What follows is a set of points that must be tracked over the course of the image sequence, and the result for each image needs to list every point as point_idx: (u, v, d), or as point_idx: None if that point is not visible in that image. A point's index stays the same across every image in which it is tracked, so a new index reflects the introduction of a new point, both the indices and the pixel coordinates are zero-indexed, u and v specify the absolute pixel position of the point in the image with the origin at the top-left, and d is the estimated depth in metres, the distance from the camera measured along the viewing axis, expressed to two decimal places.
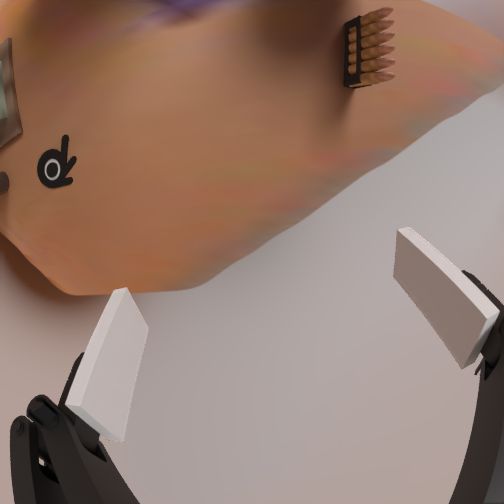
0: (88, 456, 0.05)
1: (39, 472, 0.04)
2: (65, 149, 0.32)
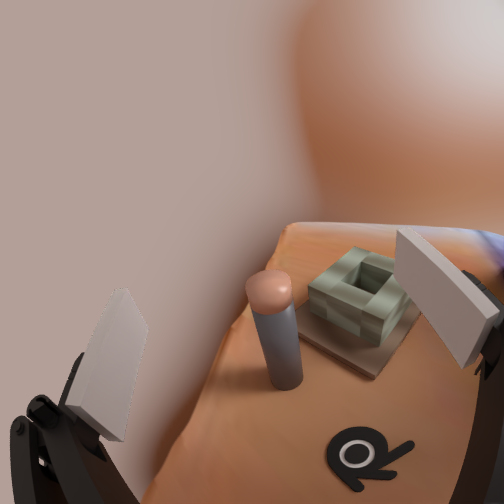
0: (88, 456, 0.05)
1: (39, 472, 0.04)
2: (397, 456, 0.19)
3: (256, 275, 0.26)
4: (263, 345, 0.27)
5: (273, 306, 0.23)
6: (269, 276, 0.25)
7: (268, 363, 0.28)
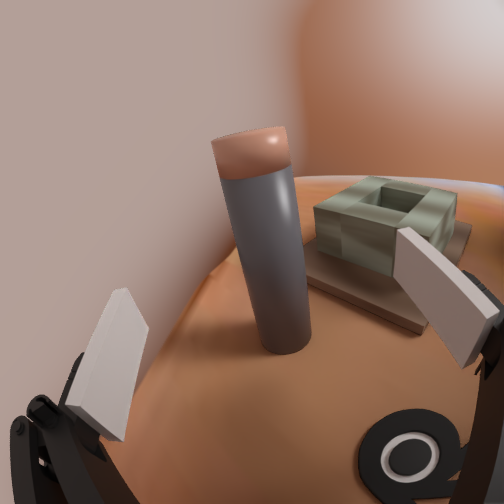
0: (88, 456, 0.05)
1: (39, 472, 0.04)
2: None
3: (231, 134, 0.15)
4: (243, 258, 0.16)
5: (255, 158, 0.13)
6: (251, 131, 0.15)
7: (254, 299, 0.18)
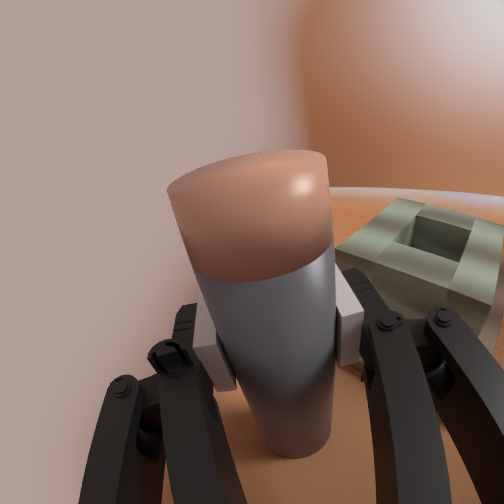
0: (209, 416, 0.07)
1: (133, 447, 0.06)
2: None
3: (214, 164, 0.08)
4: (240, 381, 0.09)
5: (264, 241, 0.05)
6: (253, 159, 0.07)
7: (256, 417, 0.11)
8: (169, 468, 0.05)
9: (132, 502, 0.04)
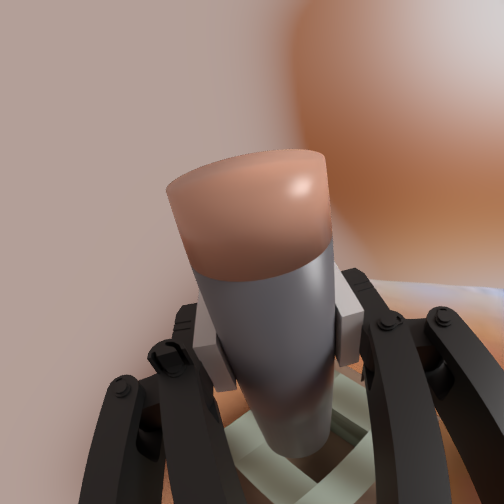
0: (209, 416, 0.07)
1: (133, 448, 0.06)
2: None
3: (213, 164, 0.08)
4: (239, 380, 0.09)
5: (262, 241, 0.05)
6: (252, 159, 0.07)
7: (255, 416, 0.11)
8: (169, 468, 0.05)
9: (132, 502, 0.04)
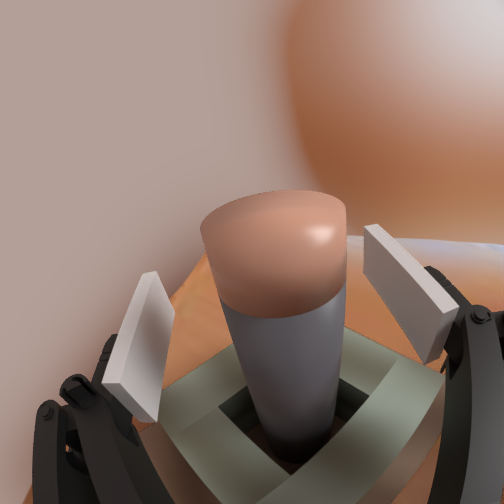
0: (122, 441, 0.06)
1: (64, 462, 0.05)
2: None
3: (239, 201, 0.09)
4: (254, 395, 0.10)
5: (291, 287, 0.06)
6: (277, 201, 0.08)
7: (265, 426, 0.11)
8: (97, 491, 0.04)
9: None
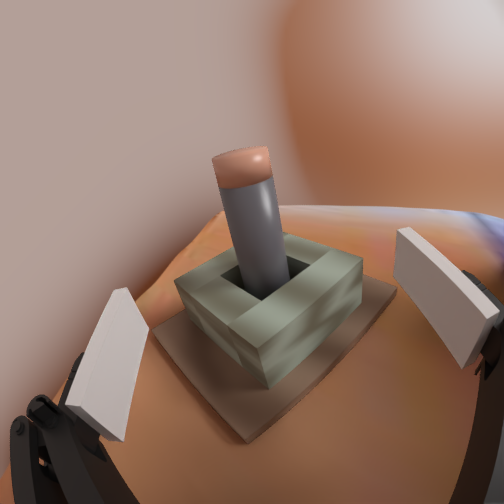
0: (88, 456, 0.05)
1: (39, 472, 0.04)
2: None
3: (227, 152, 0.20)
4: (237, 248, 0.21)
5: (244, 173, 0.17)
6: (242, 150, 0.19)
7: (245, 281, 0.23)
8: None
9: None
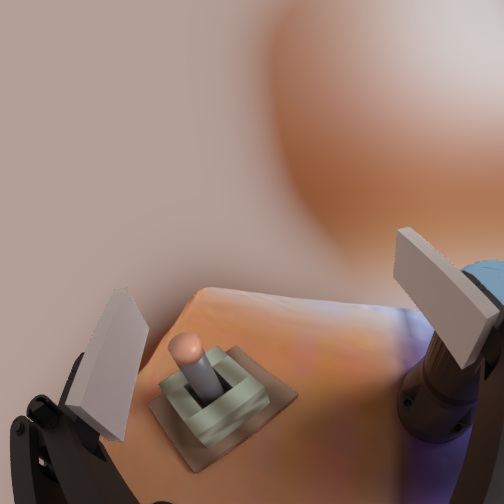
0: (88, 456, 0.05)
1: (39, 472, 0.04)
2: None
3: (177, 336, 0.33)
4: None
5: (184, 361, 0.31)
6: (185, 338, 0.33)
7: None
8: None
9: None
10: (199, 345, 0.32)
